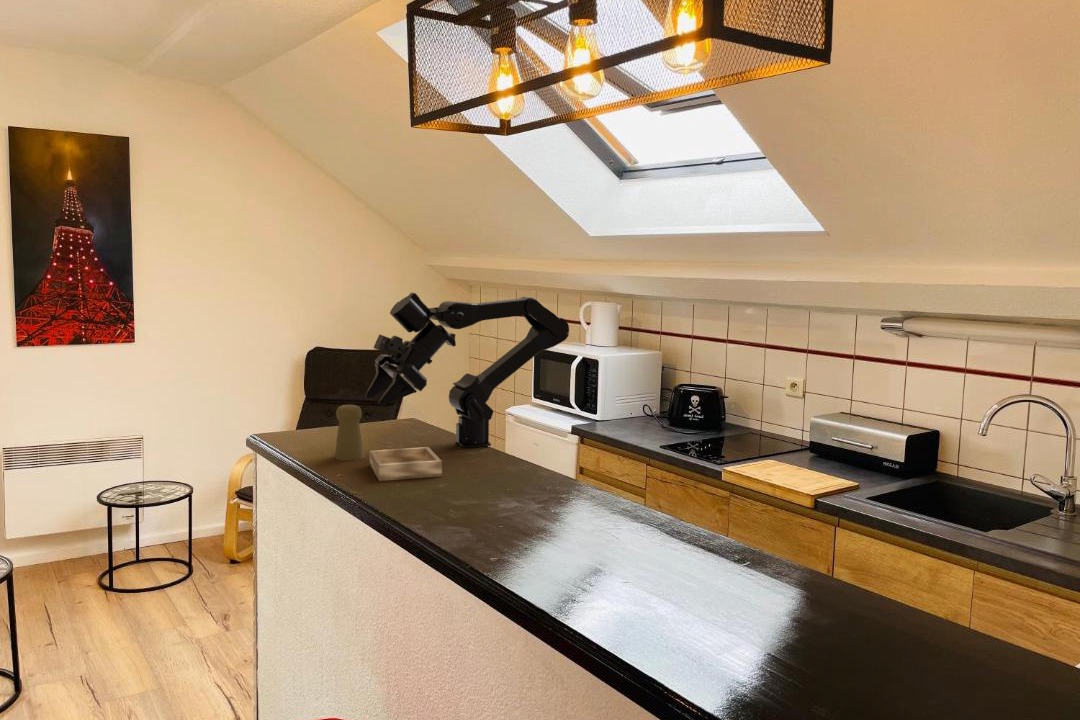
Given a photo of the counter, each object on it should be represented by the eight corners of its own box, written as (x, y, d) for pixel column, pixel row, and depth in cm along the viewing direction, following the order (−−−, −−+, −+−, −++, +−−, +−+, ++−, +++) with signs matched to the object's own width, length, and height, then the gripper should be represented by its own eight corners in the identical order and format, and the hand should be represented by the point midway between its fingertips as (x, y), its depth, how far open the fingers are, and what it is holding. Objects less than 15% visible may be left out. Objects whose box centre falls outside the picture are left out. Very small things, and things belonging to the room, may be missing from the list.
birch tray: (428, 461, 173) (428, 446, 173) (441, 476, 162) (441, 461, 162) (369, 465, 169) (369, 450, 169) (379, 481, 158) (379, 465, 158)
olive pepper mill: (332, 454, 177) (331, 403, 176) (360, 452, 180) (360, 401, 178) (337, 461, 172) (337, 408, 170) (367, 459, 174) (366, 407, 173)
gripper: (383, 317, 185) (334, 369, 181) (412, 325, 169) (358, 382, 165) (417, 351, 190) (370, 403, 186) (448, 362, 173) (397, 418, 170)
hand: (373, 401), depth 177 cm, fingers open, 9 cm apart
